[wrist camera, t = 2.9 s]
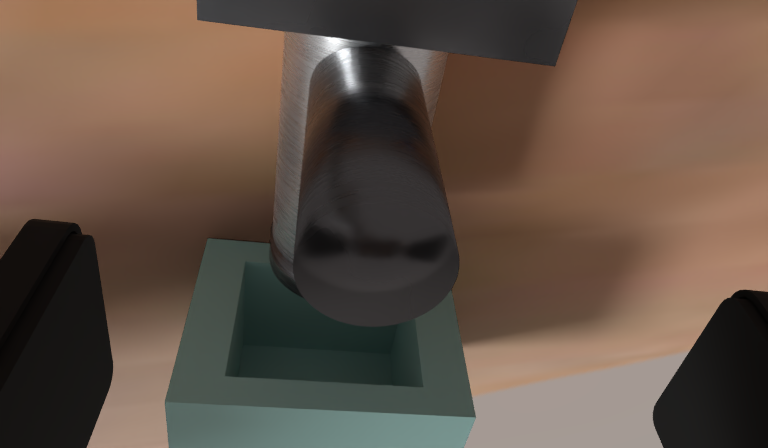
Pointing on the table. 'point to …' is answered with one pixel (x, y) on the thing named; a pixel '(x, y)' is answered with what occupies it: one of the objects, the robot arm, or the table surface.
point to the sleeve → (415, 23)
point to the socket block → (308, 368)
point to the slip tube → (361, 181)
